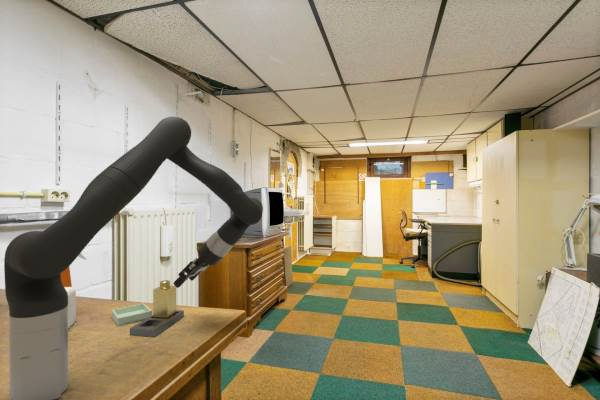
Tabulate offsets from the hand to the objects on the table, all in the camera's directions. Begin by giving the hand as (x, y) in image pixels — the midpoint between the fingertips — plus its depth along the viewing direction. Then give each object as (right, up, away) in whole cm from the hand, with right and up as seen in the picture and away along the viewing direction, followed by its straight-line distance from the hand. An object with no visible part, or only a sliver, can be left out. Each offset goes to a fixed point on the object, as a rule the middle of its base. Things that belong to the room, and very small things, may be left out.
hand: (183, 281), depth 100 cm
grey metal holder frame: (-7, -13, -2) cm, 15 cm away
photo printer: (-36, -13, -4) cm, 38 cm away
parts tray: (-19, -13, +4) cm, 23 cm away
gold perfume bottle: (-6, -13, +1) cm, 15 cm away
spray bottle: (-41, -13, +5) cm, 43 cm away
